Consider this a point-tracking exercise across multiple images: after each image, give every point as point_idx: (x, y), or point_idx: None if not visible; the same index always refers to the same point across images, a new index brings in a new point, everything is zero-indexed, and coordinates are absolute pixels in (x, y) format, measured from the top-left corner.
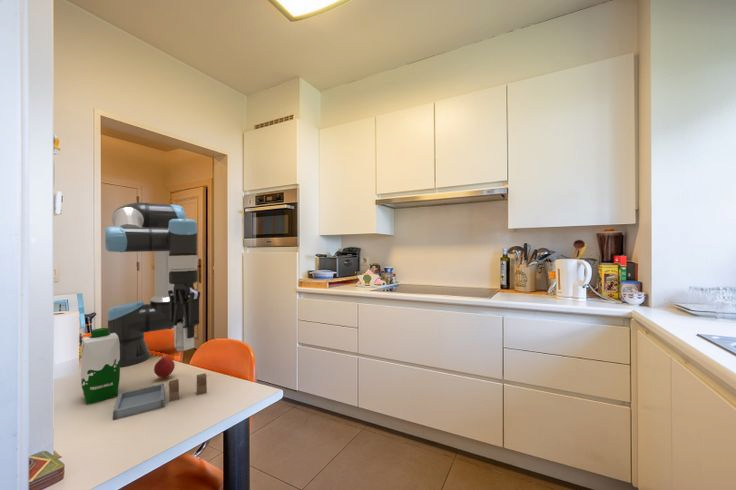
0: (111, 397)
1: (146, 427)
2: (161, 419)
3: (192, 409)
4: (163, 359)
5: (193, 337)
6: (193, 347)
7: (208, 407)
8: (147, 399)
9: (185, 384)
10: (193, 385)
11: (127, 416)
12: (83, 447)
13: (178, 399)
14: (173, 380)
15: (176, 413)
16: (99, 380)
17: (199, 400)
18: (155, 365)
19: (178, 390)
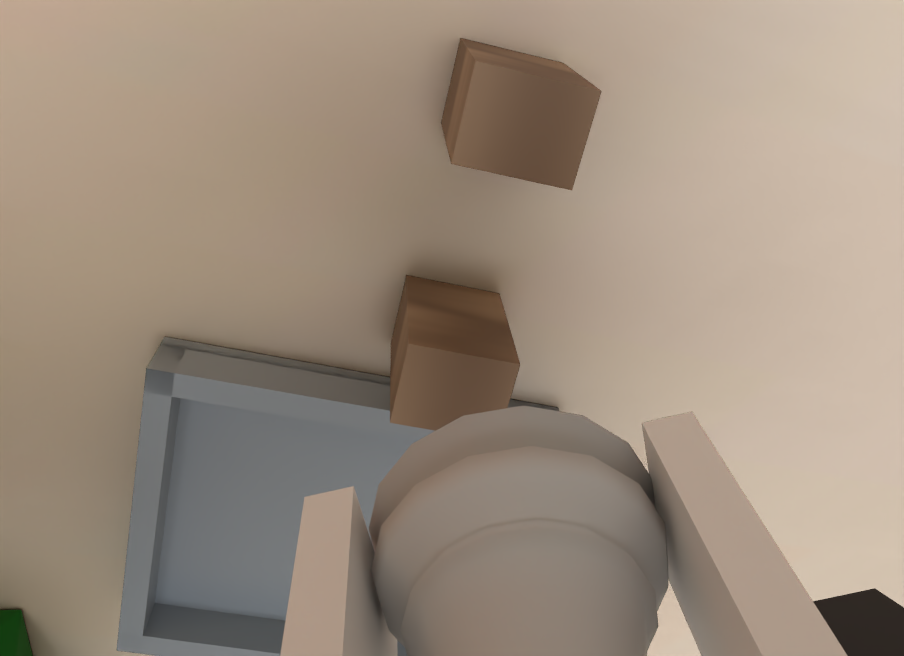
0: (27, 641)
1: (773, 533)
2: (747, 455)
3: (796, 265)
4: None
5: (779, 561)
6: (697, 429)
7: (886, 161)
8: (328, 484)
9: (140, 149)
10: (239, 96)
11: None
12: None
13: (497, 296)
14: (418, 390)
15: (749, 366)
16: None
17: (677, 171)
18: None
19: (510, 331)
